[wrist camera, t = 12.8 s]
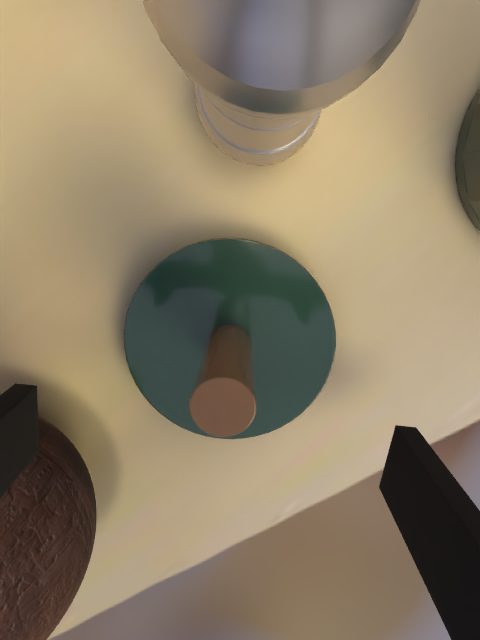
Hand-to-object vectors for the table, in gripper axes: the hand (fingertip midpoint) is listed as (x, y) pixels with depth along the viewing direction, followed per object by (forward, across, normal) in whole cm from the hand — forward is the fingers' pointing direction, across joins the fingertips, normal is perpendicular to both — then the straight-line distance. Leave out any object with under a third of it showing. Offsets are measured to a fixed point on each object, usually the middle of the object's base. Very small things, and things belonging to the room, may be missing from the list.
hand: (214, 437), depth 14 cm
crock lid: (+12, 0, -1) cm, 12 cm away
